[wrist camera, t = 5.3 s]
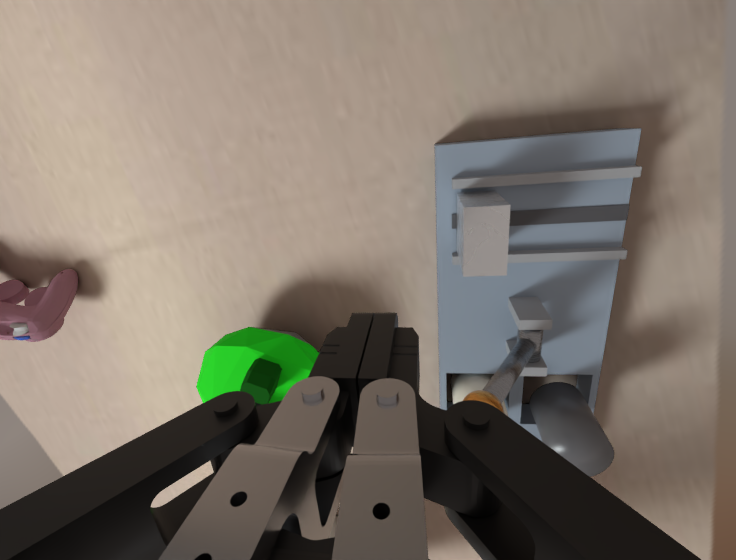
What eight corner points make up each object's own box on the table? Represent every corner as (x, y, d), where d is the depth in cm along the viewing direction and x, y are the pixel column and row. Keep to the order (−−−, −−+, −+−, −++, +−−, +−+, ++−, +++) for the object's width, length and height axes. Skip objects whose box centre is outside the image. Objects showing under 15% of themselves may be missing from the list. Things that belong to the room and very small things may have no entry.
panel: (440, 431, 36) (443, 486, 31) (434, 144, 27) (437, 149, 21) (575, 436, 34) (603, 495, 29) (621, 128, 25) (677, 129, 19)
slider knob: (456, 250, 26) (463, 276, 22) (456, 192, 25) (463, 207, 20) (492, 248, 26) (506, 275, 21) (494, 189, 24) (510, 204, 20)
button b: (527, 421, 31) (546, 476, 26) (531, 381, 29) (551, 431, 25) (580, 423, 30) (609, 479, 26) (586, 382, 29) (618, 433, 24)
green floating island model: (329, 423, 38) (297, 533, 28) (219, 385, 38) (146, 482, 28) (365, 327, 33) (341, 418, 23) (238, 283, 33) (158, 356, 23)
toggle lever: (515, 346, 27) (453, 434, 20) (518, 317, 27) (453, 397, 19) (548, 355, 26) (493, 451, 19) (551, 324, 25) (495, 414, 18)
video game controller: (8, 274, 38) (-55, 332, 34) (-23, 242, 35) (-98, 302, 30) (100, 296, 38) (47, 357, 33) (77, 266, 34) (15, 330, 30)
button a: (451, 399, 34) (455, 443, 29) (450, 362, 33) (455, 402, 28) (496, 400, 34) (508, 445, 29) (498, 362, 32) (511, 403, 27)
